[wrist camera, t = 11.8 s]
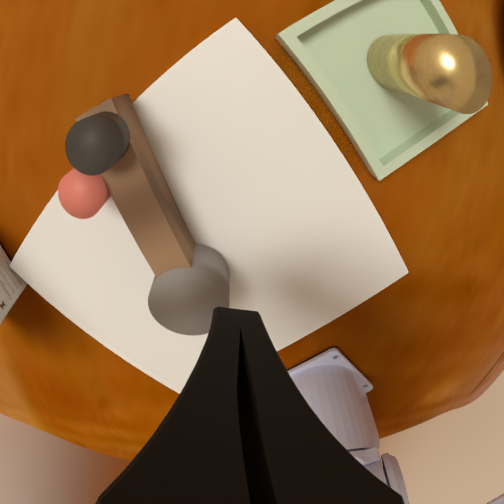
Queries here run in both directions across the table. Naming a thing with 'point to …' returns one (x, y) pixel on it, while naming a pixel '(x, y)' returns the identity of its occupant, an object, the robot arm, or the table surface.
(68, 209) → the post
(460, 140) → the table surface
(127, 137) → the crank
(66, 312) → the board
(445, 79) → the pin
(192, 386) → the robot arm
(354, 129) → the tray
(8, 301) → the supplement box
